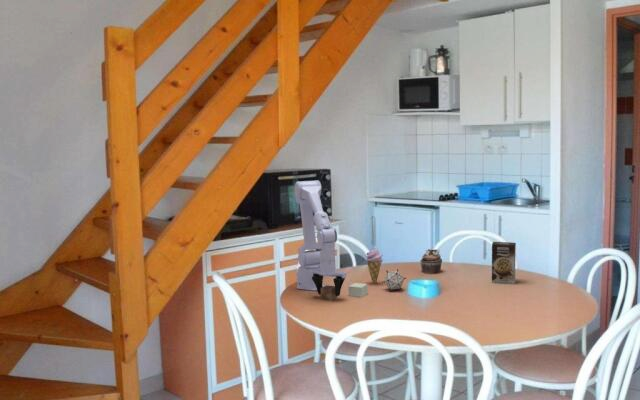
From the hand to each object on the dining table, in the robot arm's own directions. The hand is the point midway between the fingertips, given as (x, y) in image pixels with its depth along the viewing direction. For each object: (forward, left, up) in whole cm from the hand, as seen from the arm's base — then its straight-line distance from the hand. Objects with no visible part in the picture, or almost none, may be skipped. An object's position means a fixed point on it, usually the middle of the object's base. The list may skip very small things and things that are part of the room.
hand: (328, 294), depth 221 cm
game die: (+18, +21, -2) cm, 28 cm away
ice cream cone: (+7, +27, -2) cm, 28 cm away
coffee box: (+54, +50, -2) cm, 74 cm away
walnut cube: (0, 0, -2) cm, 2 cm away
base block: (+8, +9, -2) cm, 12 cm away
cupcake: (+21, +56, -2) cm, 60 cm away
